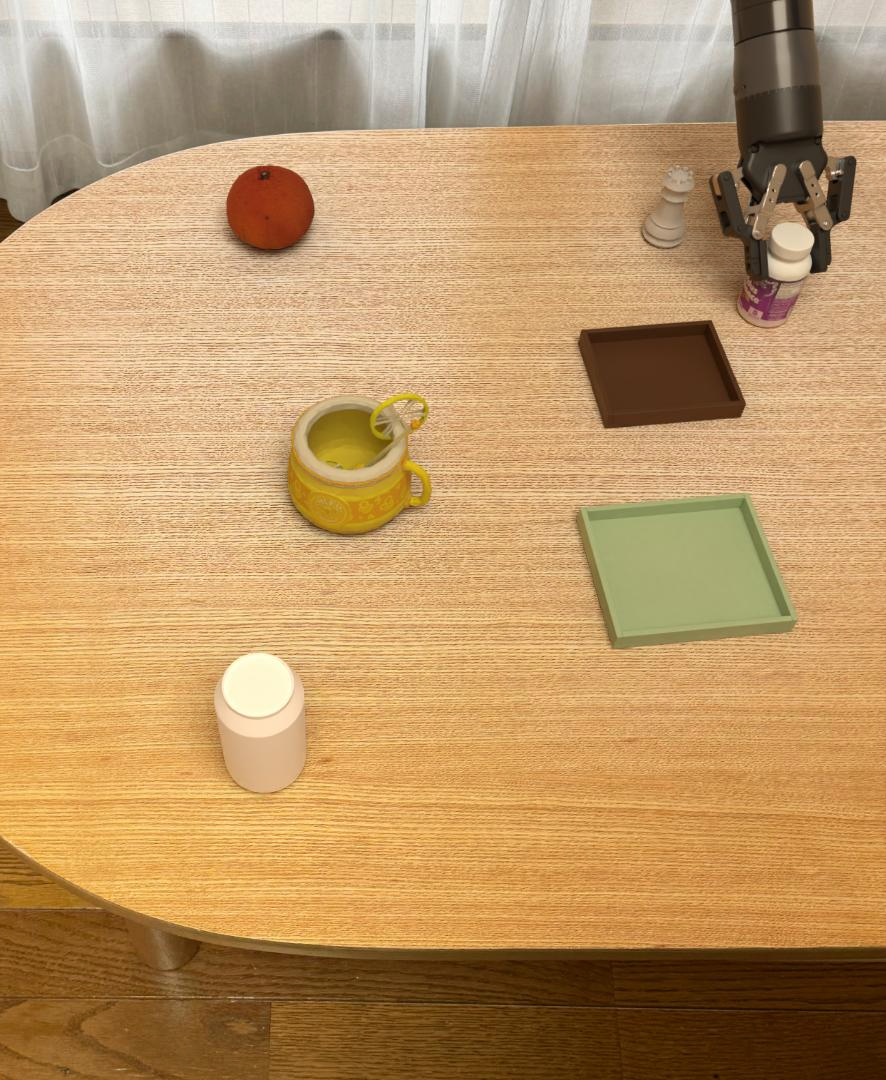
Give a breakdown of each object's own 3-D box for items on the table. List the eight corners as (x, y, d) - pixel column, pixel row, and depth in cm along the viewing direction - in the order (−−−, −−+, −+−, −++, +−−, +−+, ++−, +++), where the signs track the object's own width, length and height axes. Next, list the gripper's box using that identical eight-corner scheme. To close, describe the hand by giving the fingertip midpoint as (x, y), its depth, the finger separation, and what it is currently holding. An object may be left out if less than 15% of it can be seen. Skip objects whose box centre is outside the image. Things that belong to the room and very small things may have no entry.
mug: (268, 523, 101) (261, 432, 92) (314, 433, 107) (312, 339, 98) (408, 566, 99) (416, 478, 89) (447, 472, 105) (459, 379, 95)
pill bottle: (724, 300, 118) (752, 224, 110) (768, 286, 120) (799, 210, 112) (755, 336, 115) (786, 260, 108) (800, 321, 117) (833, 245, 109)
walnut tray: (706, 333, 116) (711, 319, 114) (740, 417, 109) (746, 403, 108) (577, 343, 115) (581, 329, 113) (604, 428, 108) (608, 415, 107)
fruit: (219, 258, 121) (212, 194, 114) (242, 203, 126) (237, 140, 119) (302, 272, 120) (300, 208, 113) (322, 216, 125) (322, 153, 118)
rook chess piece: (665, 256, 122) (683, 193, 115) (632, 234, 124) (649, 171, 117) (692, 238, 124) (712, 175, 117) (659, 216, 126) (677, 153, 119)
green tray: (742, 505, 103) (748, 492, 102) (791, 631, 96) (798, 619, 94) (576, 520, 102) (579, 507, 101) (612, 649, 95) (617, 637, 93)
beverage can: (314, 789, 87) (311, 716, 78) (231, 805, 87) (218, 733, 77) (299, 715, 91) (294, 636, 81) (219, 730, 90) (205, 652, 80)
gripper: (723, 90, 104) (737, 284, 107) (872, 73, 106) (882, 264, 109) (686, 107, 111) (701, 288, 114) (826, 91, 113) (837, 270, 116)
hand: (789, 276), depth 111 cm, fingers closed on pill bottle, 5 cm apart
